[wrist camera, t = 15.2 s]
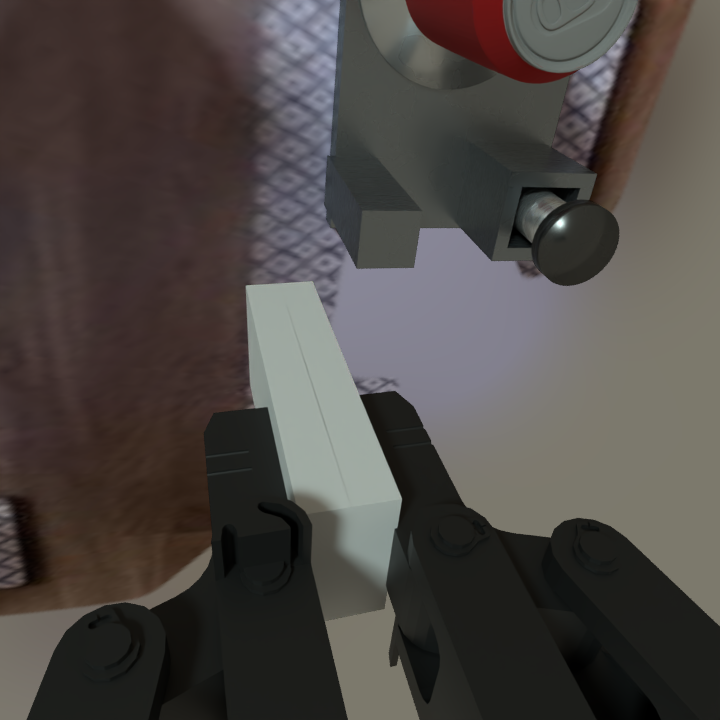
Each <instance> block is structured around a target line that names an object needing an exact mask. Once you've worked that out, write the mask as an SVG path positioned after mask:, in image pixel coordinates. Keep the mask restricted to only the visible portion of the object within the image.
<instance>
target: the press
mask: <svg viewBox="0 0 720 720" xmlns="http://www.w3.org/2000/svg"><path fill="white" fill-rule="evenodd" d="M569 77H570V75H569V76H567V77H565V78H562V79H560V80H556V81H553V82H548V83H541V84H531V83H524V82H520V81H517V80H514V79H512V78H509V77H507V76H505V75H502V74H500V73H498V72H495V71H493V70H490V69H488V68H486V67H484V66H481V65H479V64H477V63H475V62H473V61H470V60H468V59H466V58H464V57H462V56H460V55H458V54H455V53H453V52H451V51H449V50H447V49H445V48H443V47H441V46H439V45H437V44H435V43H434V42H432V41H431V40H429V39H428V38H427V37H425V36H424V35H423V34H422V33H421V31H420V30H419V29H418V28H417V26H416V25H415V23H414V22H413V20H412V18H411V16H410V13H409V11H408V8H407V5H406V1H405V0H340V14H339V29H338V45H337V60H336V76H335V91H334V106H333V122H332V137H331V152H330V156H327V167H326V183H325V200H324V205H325V207H326V209H327V214H326V220H327V222H328V224H329V226H330V228H336V229H337V231H338V233H339V235H340V237H341V239H342V241H343V243H344V245H345V247H346V249H347V250H348V252H349V254H350V256H351V258H352V260H353V262H354V264H355V266H356V268H357V269H360V268H361V269H363V268H414V263H415V257H416V250H417V244H418V236H419V231H420V228H461V229H462V230H463V231H464V232H465V233H466V234H467V235H468V236H469V237H470V238H471V239H472V241H473V242H474V243H475V244H476V245H477V246H478V247H479V248H480V249H481V250H482V251H483V252H484V253H485V254H486V255H487V257H488V258H489V259H490V260H491V261H528V260H533V259H532V254H531V247H532V243H531V242H530V241H529V240H528V239H527V238H526V237H525V236H523V235H522V234H521V233H520V232H519V231H518V230H517V229H516V228H514V227H513V223H514V219H515V214H516V210H517V206H518V202H519V198H520V194H521V190H522V187H545V188H547V189H548V190H549V191H551V192H552V193H554V194H555V195H557V196H558V197H559V198H561V199H562V200H564V201H565V202H570V201H573V200H580V199H584V200H589V199H590V196H591V193H592V189H593V186H594V183H595V180H596V176H597V174H596V173H595V172H593V171H591V170H589V169H588V168H586V167H584V166H583V165H581V164H579V163H577V162H576V161H574V160H572V159H570V158H569V157H567V156H565V155H564V154H562V153H560V152H558V151H557V150H555V149H553V148H552V147H551V146H552V143H553V139H554V135H555V131H556V127H557V123H558V119H559V116H560V112H561V108H562V104H563V100H564V96H565V93H566V89H567V85H568V81H569Z"/></svg>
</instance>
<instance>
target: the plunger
mask: <svg viewBox="0 0 720 720" xmlns="http://www.w3.org/2000/svg"><path fill="white" fill-rule="evenodd" d="M513 227H514V228H516V229H517V230H518V231H519V232H520V233H521V234H522V235H523V236H525V237H526V238H527V239H528V240H529V241H530V242H531V243H532V247H531V254H532V259H533V262H534V264H535V266H536V267H537V268H538V270H539V271H540V272H541V273H542V274H544V275H545V276H546V277H547V278H548V279H549V280H550V281H552V282H553V283H556V284H559V285H563V286H570V285H576V284H580V283H583V282H585V281H587V280H589V279H591V278H592V277H594V276H595V275H597V274H598V273H599V272H600V271H601V270H602V269H603V268H604V267H605V266H606V265H607V264H608V262H609V261H610V260H611V258H612V256H613V255H614V253H615V250H616V248H617V245H618V241H619V226H618V223H617V221H616V219H615V217H614V216H613V215H612V214H611V213H610V212H609V211H608V210H606V209H605V208H603V207H602V206H600V205H598V204H597V203H595V202H593V201H590V200H584V199H580V200H573V201H570V202H565V201H564V200H562V199H561V198H559V197H558V196H557V195H555V194H554V193H552V192H551V191H549V190H548V189H547V188H545V187H522V190H521V194H520V198H519V202H518V206H517V210H516V214H515V219H514V223H513Z"/></svg>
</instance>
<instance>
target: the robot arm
mask: <svg viewBox="0 0 720 720" xmlns="http://www.w3.org/2000/svg"><path fill="white" fill-rule="evenodd" d="M246 302H247V325H248V348H249V371H250V386H251V391H252V396H253V401H254V407H255V408H254V409H245V410H236V411H228V412H219V413H214V414H213V416H212V418H211V420H210V422H209V424H208V426H207V428H206V430H205V432H204V442H205V454H206V466H207V477H208V489H209V501H210V513H211V525H212V540H211V544H212V557H211V559H210V562H209V565H208V567H207V569H206V570H205V572H204V573H203V574H202V576H201V577H200V579H199V580H197V582H195V583H194V584H193V585H192V586H191V587H190V588H189V589H187V590H186V591H184V592H183V593H181V594H179V595H178V596H176V597H174V598H172V599H170V600H168V601H166V602H164V603H162V604H160V605H158V606H156V607H154V608H152V609H150V610H149V609H147V608H146V607H144V606H140V605H136V604H131V603H126V602H125V603H118V604H112V605H105V606H103V607H101V608H99V609H96V610H94V611H92V612H90V613H88V614H86V615H84V616H83V617H82V618H81V619H79V620H78V621H77V622H76V623H75V624H74V625H73V626H71V627H70V628H69V629H68V630H67V631H66V632H65V634H64V635H63V637H62V639H61V640H60V642H59V644H58V645H57V647H56V649H55V650H54V653H53V655H52V657H51V660H50V662H49V665H48V667H47V670H46V672H45V675H44V677H43V680H42V682H41V685H40V688H39V690H38V692H37V695H36V697H35V700H34V702H33V705H32V707H31V710H30V713H29V715H28V718H27V720H348V718H347V714H346V710H345V706H344V702H343V698H342V693H341V689H340V684H339V681H338V676H337V672H336V667H335V663H334V659H333V655H332V650H331V646H330V642H329V638H328V634H327V629H326V625H325V621H328V620H332V619H337V618H342V617H347V616H352V615H357V614H362V613H366V612H371V611H376V610H381V609H384V608H385V601H386V596H387V591H388V594H389V597H390V600H391V603H392V606H393V609H394V612H395V615H396V617H395V622H394V627H393V633H392V639H391V644H390V650H389V660H390V666H391V667H392V666H396V665H397V661H398V656H400V659H401V662H402V666H403V669H404V672H405V675H406V678H407V681H408V685H409V688H410V690H411V694H412V697H413V700H414V703H415V706H416V710H417V712H418V716H419V719H420V720H720V626H719V625H718V624H717V623H715V622H714V621H713V620H712V619H711V618H710V617H709V616H708V615H707V614H706V613H705V612H704V611H703V610H702V609H701V608H700V607H699V606H698V605H696V604H695V603H694V602H693V601H692V600H691V599H690V598H689V597H688V596H687V595H686V594H685V593H684V592H683V591H682V590H680V588H679V587H678V586H676V585H675V584H674V583H673V582H672V581H671V580H670V579H669V578H668V577H667V576H666V575H665V574H664V573H663V572H662V571H660V570H659V568H657V566H655V565H654V564H653V563H652V562H651V561H650V560H649V559H648V558H647V557H646V556H645V555H644V554H643V553H642V552H641V551H640V550H638V549H637V548H636V547H635V546H634V545H633V544H632V543H631V542H630V541H629V540H628V539H627V538H626V537H624V536H623V535H622V534H620V533H619V532H617V531H616V530H615V529H614V528H612V527H611V526H608V525H606V524H603V523H600V522H598V521H596V520H591V519H582V518H576V519H571V520H567V521H564V522H562V523H561V524H560V525H559V526H557V527H556V528H555V529H554V531H553V533H552V536H551V538H549V537H540V536H533V535H523V534H516V533H510V532H505V531H501V530H498V529H496V528H493V527H492V526H491V525H490V523H489V522H488V521H487V520H486V518H485V517H483V516H481V515H480V514H478V513H477V512H475V511H474V510H472V509H471V508H467V507H466V506H465V505H464V503H463V502H462V500H461V498H460V496H459V494H458V492H457V490H456V488H455V486H454V484H453V483H452V481H451V479H450V477H449V475H448V473H447V471H446V469H445V467H444V465H443V463H442V461H441V459H440V457H439V455H438V453H437V451H436V449H435V447H434V446H433V445H432V444H431V440H430V438H429V436H428V434H427V432H426V430H425V429H424V428H423V424H422V422H421V420H420V418H419V416H418V414H417V412H416V410H415V408H414V407H413V406H412V405H411V404H410V403H409V402H408V401H407V400H405V399H404V398H403V397H402V396H401V395H399V394H398V393H397V392H396V391H391V392H382V393H373V394H364V395H359V393H358V391H357V388H356V386H355V383H354V381H353V379H352V376H351V374H350V372H349V369H348V366H347V364H346V362H345V359H344V357H343V354H342V352H341V350H340V347H339V345H338V342H337V340H336V337H335V335H334V332H333V330H332V328H331V325H330V323H329V320H328V318H327V315H326V313H325V311H324V308H323V306H322V303H321V301H320V298H319V296H318V294H317V291H316V289H315V286H314V284H313V281H309V282H293V283H277V284H261V285H246Z"/></svg>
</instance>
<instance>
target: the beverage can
mask: <svg viewBox="0 0 720 720" xmlns="http://www.w3.org/2000/svg"><path fill="white" fill-rule="evenodd" d="M405 1H406V5H407V8H408V11H409V13H410V16H411V18H412V20H413V22H414V23H415V25H416V26H417V28H418V29H419V30H420V31H421V33H422V34H423V35H424V36H425V37H427V38H428V39H429V40H431V41H432V42H434V43H435V44H437V45H439V46H441V47H443V48H445V49H447V50H449V51H451V52H453V53H455V54H458V55H460V56H462V57H464V58H466V59H468V60H470V61H473V62H475V63H477V64H479V65H481V66H484V67H486V68H488V69H490V70H493V71H495V72H498V73H500V74H502V75H505V76H507V77H509V78H512V79H514V80H517V81H520V82H524V83H531V84H541V83H548V82H553V81H556V80H560V79H562V78H565V77H567V76H569V75H571V74H573V73H575V72H576V71H578V70H580V69H581V68H584V67H586V66H588V65H590V64H591V63H593V62H595V61H596V60H597V59H599V58H600V57H601V56H603V55H604V54H605V53H606V52H607V51H608V50H609V49H610V48H611V47H612V46H613V45H614V44H615V43H616V41H617V40H618V39H619V38H620V36H621V35H622V33H623V32H624V30H625V28H626V27H627V25H628V23H629V21H630V19H631V17H632V15H633V13H634V10H635V8H636V5H637V2H638V0H405Z"/></svg>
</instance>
